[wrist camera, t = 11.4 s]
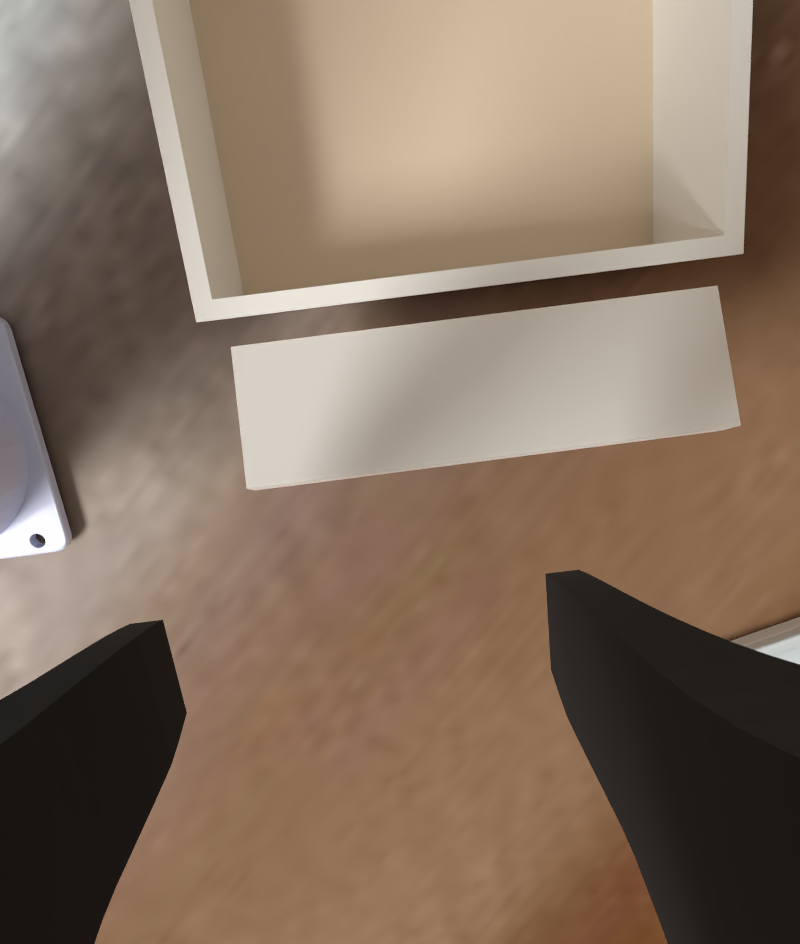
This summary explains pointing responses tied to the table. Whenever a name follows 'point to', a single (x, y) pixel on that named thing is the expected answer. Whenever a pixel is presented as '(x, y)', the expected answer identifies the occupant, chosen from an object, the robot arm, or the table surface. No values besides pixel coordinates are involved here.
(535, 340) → the flap
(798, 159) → the table surface
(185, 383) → the table surface
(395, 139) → the carton
